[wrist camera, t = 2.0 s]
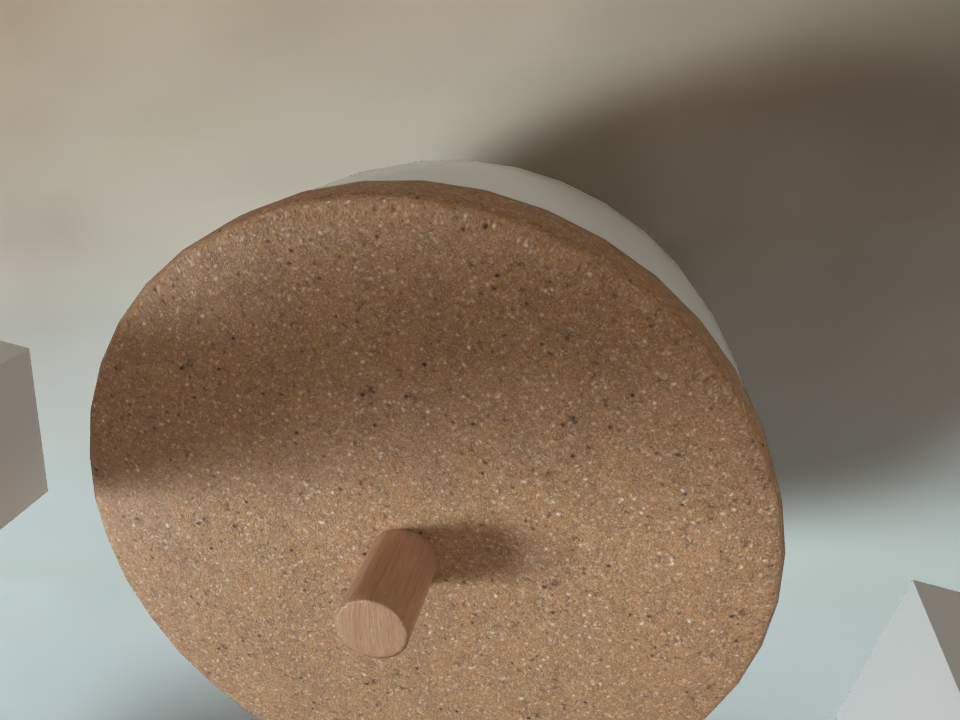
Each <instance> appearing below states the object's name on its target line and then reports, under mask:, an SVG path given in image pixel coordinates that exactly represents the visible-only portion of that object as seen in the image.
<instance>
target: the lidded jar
mask: <svg viewBox="0 0 960 720" xmlns="http://www.w3.org/2000/svg"><path fill="white" fill-rule="evenodd" d="M90 460H91V468H92V476H93V484H94V492H95V499H96V502H97V505H98V509H99V512H100V515H101V518H102V521H103V524H104V527H105V530H106V533H107V536H108V540H109V542H110V544H111V546H112V549H113V551H114V553H115V555H116V557H117V560H118V562H119V564H120V566H121V568H122V571H123V573H124V575H125V577H126V579H127V581H128V583H129V584H130V586H131V587H132V589H133V590H134V592H135V593H136V595H137V596H138V598H139V599H140V601H141V602H142V604H143V605H144V607H145V608H146V610H147V611H148V613H149V614H150V616H151V617H152V619H153V620H154V621H155V622H156V624H157V625H158V626H159V627H160V629H161V630H162V631H163V632H164V634H165V635H166V636H167V637H168V638H169V640H170V641H171V642H172V643H173V645H174V646H175V647H176V648H177V650H178V651H179V652H180V653H181V654H182V655H183V656H184V657H185V658H186V659H188V660H189V661H190V662H191V663H192V664H193V665H194V666H195V667H196V668H197V669H198V670H199V671H200V672H201V673H202V674H203V675H204V676H205V677H206V678H208V679H209V680H210V681H211V682H212V683H213V684H214V685H216V686H217V687H218V688H219V689H221V690H222V691H223V692H224V693H226V694H227V695H228V696H229V697H231V698H232V699H233V700H234V701H236V702H237V703H238V704H239V705H241V706H242V707H243V708H244V709H246V710H247V711H249V712H250V713H252V714H254V715H255V716H257V717H258V718H260V719H262V720H703V719H705V718H706V717H707V716H708V715H709V714H710V713H711V712H712V711H713V710H714V709H715V708H716V706H717V705H718V704H719V703H720V702H721V701H722V700H723V699H724V698H725V697H726V696H727V695H728V694H729V693H730V692H731V691H732V689H733V688H734V687H735V686H736V685H737V684H738V683H739V681H740V680H741V678H742V676H743V675H744V673H745V671H746V670H747V668H748V667H749V665H750V663H751V662H752V660H753V659H754V657H755V655H756V654H757V652H758V651H759V649H760V647H761V646H762V644H763V641H764V638H765V636H766V633H767V630H768V628H769V625H770V622H771V619H772V617H773V614H774V611H775V609H776V606H777V603H778V599H779V592H780V585H781V579H782V572H783V565H784V558H785V542H784V525H783V509H782V499H781V494H780V490H779V486H778V482H777V478H776V475H775V471H774V467H773V463H772V460H771V456H770V452H769V448H768V445H767V441H766V437H765V434H764V430H763V427H762V424H761V422H760V420H759V418H758V416H757V414H756V411H755V409H754V407H753V405H752V403H751V401H750V399H749V397H748V395H747V393H746V391H745V388H744V386H743V383H742V380H741V377H740V374H739V372H738V369H737V366H736V363H735V360H734V358H733V356H732V354H731V352H730V350H729V348H728V346H727V344H726V341H725V339H724V337H723V335H722V333H721V331H720V329H719V327H718V325H717V323H716V320H715V319H714V317H713V315H712V314H711V312H710V311H709V309H708V307H707V306H706V304H705V303H704V301H703V300H702V298H701V297H700V295H699V294H698V293H697V291H696V290H695V288H694V287H693V286H692V284H691V283H690V281H689V280H688V279H687V277H686V276H685V274H684V273H683V272H682V270H681V269H680V267H679V266H678V265H677V264H676V263H675V262H674V261H673V260H672V259H671V258H670V257H669V256H668V255H667V254H666V253H665V252H664V251H663V250H662V248H661V247H660V246H659V245H658V244H657V243H656V242H655V241H654V240H653V239H652V238H651V237H650V236H649V235H648V234H647V233H646V232H645V231H643V230H642V229H640V228H639V227H638V226H636V225H635V224H633V223H632V222H631V221H629V220H628V219H627V218H625V217H624V216H622V215H621V214H620V213H618V212H617V211H615V210H614V209H613V208H611V207H610V206H609V205H607V204H606V203H604V202H602V201H600V200H598V199H596V198H594V197H592V196H590V195H588V194H586V193H584V192H582V191H580V190H578V189H576V188H574V187H572V186H570V185H568V184H566V183H564V182H562V181H559V180H556V179H552V178H549V177H546V176H543V175H540V174H537V173H534V172H531V171H527V170H524V169H521V168H518V167H513V166H506V165H499V164H493V163H486V162H480V161H473V160H437V161H420V162H414V163H408V164H403V165H397V166H392V167H386V168H381V169H375V170H370V171H364V172H359V173H356V174H354V175H351V176H348V177H346V178H343V179H340V180H337V181H335V182H332V183H329V184H327V185H324V186H321V187H319V188H316V189H314V190H308V191H304V192H301V193H298V194H295V195H293V196H290V197H287V198H285V199H282V200H279V201H277V202H274V203H271V204H269V205H266V206H263V207H261V208H258V209H255V210H252V211H250V212H248V213H245V214H243V215H241V216H239V217H237V218H235V219H234V220H232V221H230V222H228V223H227V224H225V225H223V226H222V227H220V228H218V229H217V230H215V231H213V232H212V233H210V234H209V235H207V236H205V237H204V238H202V239H200V240H199V241H197V242H195V243H194V244H192V245H190V246H189V247H187V248H185V249H184V250H182V251H181V252H180V253H179V254H178V255H177V256H176V257H175V258H174V259H173V260H172V261H170V262H169V263H168V264H167V265H166V266H165V267H164V268H163V269H162V270H161V271H160V272H159V273H157V274H156V275H155V276H154V277H153V278H152V279H151V280H150V281H149V282H148V283H147V284H146V285H145V286H144V288H143V289H142V291H141V292H140V293H139V295H138V296H137V298H136V299H135V300H134V302H133V303H132V305H131V306H130V307H129V309H128V310H127V312H126V313H125V314H124V316H123V317H122V319H121V320H120V321H119V323H118V326H117V328H116V330H115V332H114V335H113V337H112V339H111V341H110V344H109V346H108V348H107V351H106V353H105V355H104V357H103V360H102V362H101V365H100V370H99V374H98V379H97V383H96V388H95V392H94V397H93V401H92V406H91V420H90Z"/></svg>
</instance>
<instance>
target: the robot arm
mask: <svg viewBox="0 0 960 720" xmlns="http://www.w3.org/2000/svg"><path fill="white" fill-rule="evenodd" d="M47 491H48V488H47V481H46V473H45V466H44V458H43V450H42V443H41V435H40V428H39V420H38V413H37V405H36V398H35V390H34V382H33V375H32V367H31V360H30V352H29V348H26V347H22V346H18V345H15V344H11V343H7V342H3V341H0V529H2V528H3V527H4V526H5V525H7V524H8V523H9V522H10V521H12V520H13V519H14V518H15V517H17V516H18V515H19V514H20V513H21V512H23V511H24V510H25V509H26V508H28V507H29V506H30V505H31V504H33V503H34V502H35V501H36V500H37V499H39V498H40V497H41V496H42V495H44V494H45V493H46V492H47ZM835 717H836V720H960V592H957V591H953V590H949V589H945V588H942V587H938V586H934V585H930V584H926V583H923V582H919V581H915V580H912V582H911V584H910V585H909V587H908V589H907V591H906V592H905V594H904V596H903V598H902V600H901V601H900V603H899V605H898V607H897V608H896V610H895V612H894V614H893V615H892V617H891V619H890V621H889V623H888V624H887V626H886V628H885V630H884V631H883V633H882V635H881V637H880V638H879V640H878V642H877V644H876V646H875V647H874V649H873V651H872V653H871V654H870V656H869V658H868V660H867V662H866V663H865V665H864V667H863V669H862V670H861V672H860V674H859V676H858V677H857V679H856V681H855V683H854V685H853V686H852V688H851V690H850V692H849V693H848V695H847V697H846V699H845V700H844V702H843V704H842V706H841V708H840V709H839V711H838V713H837V715H836V716H835Z"/></svg>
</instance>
